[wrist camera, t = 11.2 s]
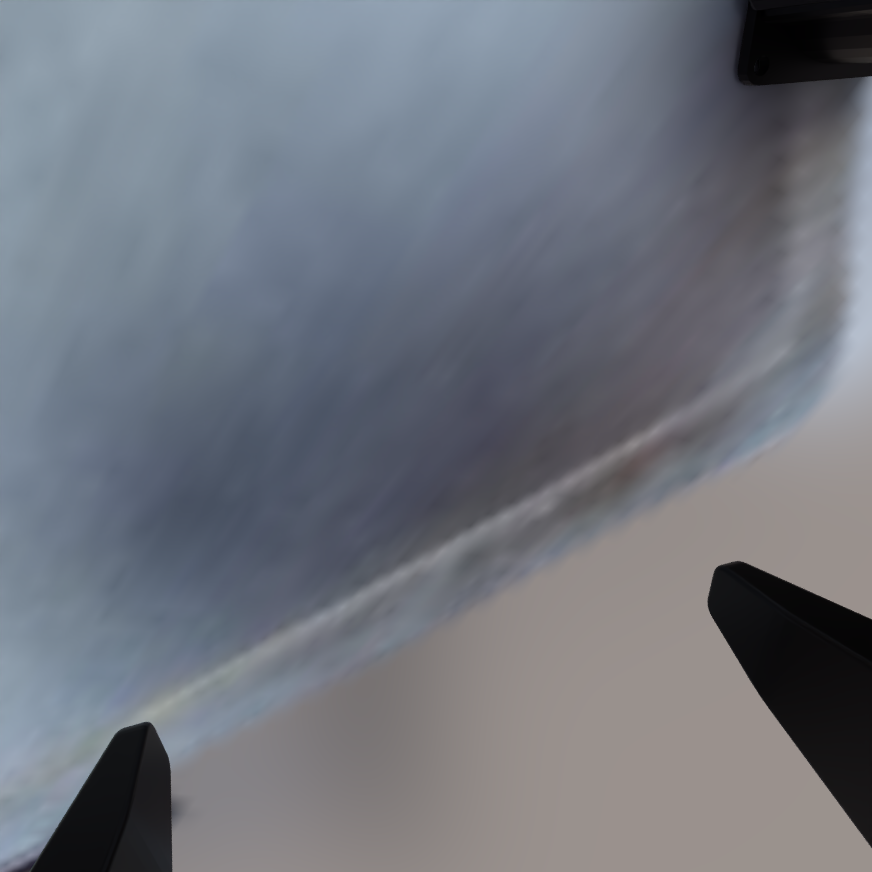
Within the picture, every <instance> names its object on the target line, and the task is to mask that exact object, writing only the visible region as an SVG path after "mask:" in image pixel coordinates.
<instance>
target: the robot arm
mask: <svg viewBox="0 0 872 872" xmlns="http://www.w3.org/2000/svg"><path fill="white" fill-rule="evenodd" d="M758 59H759V60H760V66H759V69H758V71H757V72H756V73H755V72H754V66H755V63H756V61H757V60H758ZM867 76H872V0H749V4H748V10H747V16H746V22H745V28H744V34H743V40H742V46H741V52H740V58H739V64H738V77H739V80H740V81H741V82H742V83H743V84H744V85H755V86H759V85H771V84H783V83H795V82H807V81H819V80H831V79H843V78H855V77H867ZM708 608H709V611H710V614H711V616H712V618H713V619H714V621H715V623H716V624H717V626H718V628H719V629H720V631H721V633H722V634H723V636H724V638H725V639H726V641H727V643H728V644H729V646H730V648H731V649H732V651H733V653H734V654H735V656H736V658H737V659H738V661H739V663H740V664H741V666H742V668H743V669H744V671H745V672H746V674H747V676H748V678H749V679H750V681H751V683H752V684H753V685H754V687H755V689H756V690H757V692H758V693H759V695H760V696H761V698H762V699H763V701H764V702H765V703H766V705H767V706H768V708H769V709H770V711H771V712H772V713H773V715H774V716H775V717H776V719H777V720H778V721H779V723H780V724H781V726H782V727H783V728H784V730H785V731H786V732H787V734H788V735H789V736H790V738H791V739H792V740H793V742H794V743H795V744H796V746H797V747H798V748H799V750H800V751H801V753H802V754H803V755H804V757H805V758H806V759H807V761H808V762H809V764H810V765H811V766H812V768H813V769H814V770H815V772H816V773H817V774H818V776H819V777H820V778H821V780H822V781H823V782H824V784H825V785H826V786H827V788H828V789H829V791H830V792H831V793H832V795H833V796H834V797H835V799H836V800H837V801H838V803H839V804H840V806H841V807H842V808H843V809H844V811H845V812H846V814H847V815H848V816H849V818H850V819H851V821H852V822H853V823H854V825H855V826H856V827H857V829H858V830H859V831H860V833H861V834H862V835H863V837H864V838H865V839H866V841H867V842H868V843H869V845H870V846H871V848H872V619H870V618H868V617H865V616H863V615H861V614H859V613H856V612H854V611H852V610H850V609H847V608H845V607H843V606H841V605H839V604H836V603H834V602H832V601H830V600H827V599H825V598H823V597H821V596H818V595H816V594H814V593H812V592H810V591H807V590H805V589H803V588H801V587H798V586H796V585H794V584H792V583H789V582H787V581H785V580H782V579H780V578H778V577H776V576H774V575H772V574H769V573H767V572H765V571H763V570H760V569H758V568H756V567H754V566H751V565H749V564H747V563H744V562H741V561H735V562H731V563H727V564H723V565H720V566H718V567H717V568H716V569H715V571H714V574H713V578H712V583H711V587H710V591H709V596H708ZM30 872H172V824H171V770H170V763H169V758H168V755H167V753H166V751H165V749H164V746H163V744H162V742H161V740H160V738H159V736H158V734H157V732H156V730H155V728H154V726H153V725H152V724H151V723H149V722H144V723H140V724H136V725H133V726H129V727H125V728H123V729H121V730H119V731H118V732H117V733H116V734H115V735H114V737H113V738H112V740H111V742H110V743H109V745H108V746H107V748H106V750H105V751H104V753H103V754H102V756H101V758H100V759H99V761H98V762H97V764H96V766H95V767H94V769H93V770H92V772H91V774H90V775H89V777H88V779H87V780H86V782H85V783H84V785H83V787H82V788H81V790H80V791H79V793H78V795H77V796H76V798H75V799H74V801H73V803H72V804H71V806H70V807H69V809H68V811H67V812H66V814H65V815H64V817H63V819H62V820H61V822H60V823H59V825H58V827H57V828H56V830H55V832H54V833H53V835H52V836H51V838H50V840H49V841H48V843H47V844H46V846H45V848H44V849H43V851H42V852H41V854H40V856H39V857H38V859H37V860H36V862H35V864H34V865H33V867H32V868H31V870H30Z"/></svg>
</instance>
